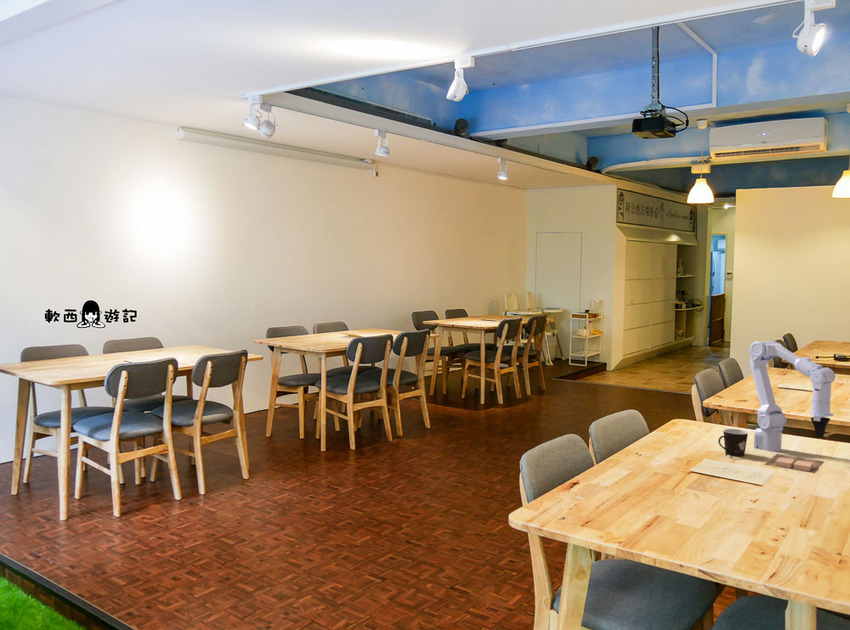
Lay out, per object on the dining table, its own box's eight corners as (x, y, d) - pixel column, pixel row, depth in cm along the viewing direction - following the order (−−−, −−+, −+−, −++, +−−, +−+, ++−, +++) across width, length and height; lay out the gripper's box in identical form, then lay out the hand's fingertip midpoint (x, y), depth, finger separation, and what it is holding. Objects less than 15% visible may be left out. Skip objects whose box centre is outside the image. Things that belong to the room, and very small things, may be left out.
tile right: (797, 465, 247) (793, 469, 242) (797, 460, 247) (793, 464, 242) (813, 467, 244) (809, 471, 239) (813, 462, 243) (809, 466, 238)
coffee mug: (742, 454, 265) (743, 429, 265) (750, 460, 257) (751, 434, 256) (711, 453, 266) (712, 428, 266) (718, 459, 258) (719, 433, 257)
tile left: (779, 462, 251) (775, 465, 246) (779, 457, 251) (775, 461, 246) (794, 464, 247) (790, 468, 242) (794, 459, 247) (790, 463, 242)
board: (764, 467, 248) (764, 464, 247) (776, 456, 262) (776, 453, 262) (813, 476, 237) (813, 473, 237) (824, 464, 252) (824, 461, 252)
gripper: (830, 405, 242) (828, 442, 242) (837, 399, 253) (835, 435, 254) (807, 402, 246) (806, 439, 247) (815, 397, 257) (814, 432, 258)
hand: (819, 437), depth 251 cm, fingers closed
